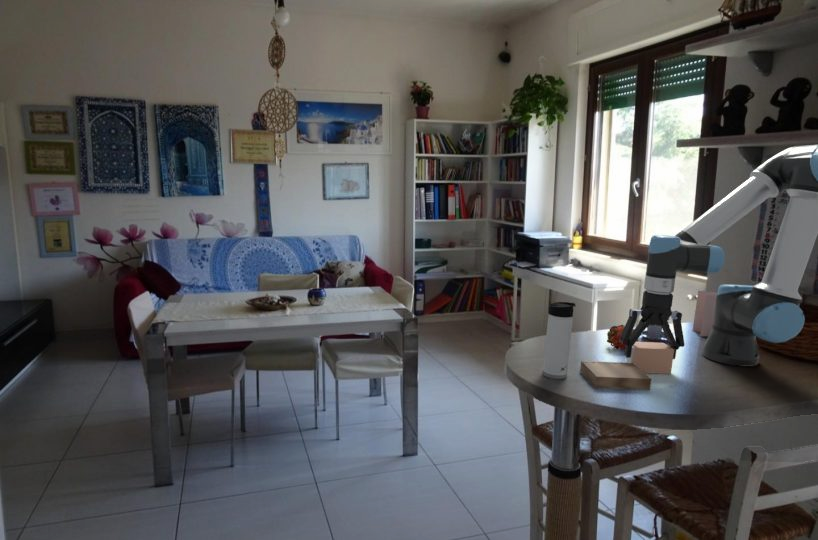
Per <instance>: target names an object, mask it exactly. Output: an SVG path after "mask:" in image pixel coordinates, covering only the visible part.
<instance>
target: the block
mask: <svg viewBox="0 0 818 540" xmlns="http://www.w3.org/2000/svg"><path fill="white" fill-rule="evenodd" d="M633 346H634V347H635V356H634V365H635V366H636V367H638V368H639V369H640V370H641V371H642V372H644V373H645V374H665V375H666V374H667V375H671V374H672V369H673V361H674V359H673V355H674V349H673V348H671V347H670V345H668V344H666V343H665V342H650V341H638V342H635V344H634V345H633Z"/></svg>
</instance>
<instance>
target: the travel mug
mask: <svg viewBox="0 0 818 540" xmlns="http://www.w3.org/2000/svg"><path fill="white" fill-rule="evenodd" d="M575 307H576V303H575V302H568V301H556V302H551V303H550V304H549V306H548V313H547V315H548V316H547V326H546V334H545V345H544V354H543V355H544V357H543V366H542V367H543V368H542V375H543V376H545V378H548V379H552V380H564V379H566V378H567V377H568V369H569V368H568V366H569V357H570V351H571V350H570V349H571V340H572V339H571V338H572V330H573V319H574V308H575Z"/></svg>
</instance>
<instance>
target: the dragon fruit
mask: <svg viewBox="0 0 818 540" xmlns="http://www.w3.org/2000/svg"><path fill="white" fill-rule="evenodd" d="M624 327H625V325H624V324H621V325H613V326H610V328H609V330H608V331H607V335H606V337H607V339H606V343H608V344H610V346H611V347H613V348H614V349H615V350H617V351H618V350H620V349H622V350H624V351H625V347H626V345H625V344H623V343H621V342H620V341H619V339H620V337H621V334H622V332H623V330H624ZM634 329H635V328H633V330H632V332H633V331H634ZM632 332H631V333H632ZM636 342H640V341H639V339H638V340H637V341H636Z"/></svg>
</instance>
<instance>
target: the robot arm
mask: <svg viewBox="0 0 818 540" xmlns="http://www.w3.org/2000/svg"><path fill="white" fill-rule="evenodd" d="M783 192H786V193H787V194H788V196H789V201H788V203H787V207H786V210H785V213H784V216H783V219H782V221H781V225H780V228H779V231H778V234H777V235H776V239H775V242H774V244H773V248H772V250H771V254H770V257H769V260H768V262H767V265H766V268H765V271H764V274H763V275H762V279H761V281H760V282H759V283H757V284H754V285H747V284H730V283H729V284H720V285H719V287H718V289H717V292H716V293H717V295H716V297H717V298H716V305H715V312H714V319H713V326H712V331H711V333H710V335H709V336H707V338H706V340H705V342H704V344H703V346H702V352H701V355H702V357H705V358H707V359H709V360H711V361H715V362H718V363H721V364H725V365H731V366H736V365H755V364H757V363H758V364H759V362H760V361H759V360H760V354H759V350H758V349H759V347H758V343H757V339H756V338H759V339H760V340H764V341H767V342H770V343H775V344H779V343H785V342H787V341H789V340H792V339H794V338H795V337H796V336H798V335H799V334H800V333H801V331H802V329H803V327H804V324H805V320H806V319H805V314H804V311H803V310H802V308H800V305H801V301H802V299H803V298H802V296H801V295H800V293H799V287H800V285H801V281H802V279H803V277H804V274H805V270H806V267H807V265H808V263H809V260H810V257H811V254H812V251H813V248H814V246H815V242H816V240H817V237H818V144H809V145H808V144H807V145H794V146H791V147H788V148H785V149H783V150H782V151H780V152H778V153H776V154H775V155H773V156H771V157H770V158H769V159H767V160H766V161H764V162H763V163H761V164H760V165H759V166H758V167H756V168H755V169H754V170H753V171H751V172H750V174H749V178H748V179H747V180H746V181H744V182H743V183H741V184H740V185H739V186H737V187H736V188H735V189H734V190H733V191H731V192H729V194H727V195H726V196H725V197H723V198H722V199H720V200H719V201H718V202H717V203H715V205H713V206H712V207H710V208H709V209H708V210H706V211H705V212H704V213H703V214H701V215H700V216H699V217H697V218H696V219H694V221H692V222H691V223H690V224H688V225H687V226H686V227H685V228H683V229H682V230H681V231H680V232H678V233H677V234H674V235H667V234H666V235H665V234H655V235H652V236H651V238H650V241H649V245H648V250H647V255H648V256H647V261H646V272H645V277H644V285H643V289H644V291H642V300H641V307H640V309H634V308H630V309H629V313H628V315H629V316H628V318H627V320H626V323H625V325H624V326H625V327H624V330H623V332H622V334H621V337H620V339H619V341H620V342H621V343H623V344H625V345H626V347H625V350H624V356H625V357H626V363H633V364H634V356H635V347H634V346H633V345H634V344H635V342H636V341H637V340H639V339H640V337H641V336H642V334H644V332H645V330H646V329H647V328H648V327H650V326H660V327H661V329H662V331H663V334H664V336H665V337H666V340H667V342H668V344H669V345H668V346H670V347H671V348H673V349H674V355H673V360H675V359H676V355H677V350H679V349H680V348H684V347H685V339H684V331H683V326H682V317H683V313H682V312H680V311H678V310H672V306H673V300H674V295H673V294H672V293H674V291H675V284H676V279H677V277H676V276H677V272H689V273H690V272H691V273H704V274H711V273H713V274H715V273H718V272H720V271H721V270H722V269H723V267H724V266H725V265H724V264H725V260H726V256H725V252H724V250H723V248H722V247H720V246H718V245H711V244H709V243H710V242H712V241H713V240H715V239H716V238H717V237H718V236H719V235H721V234H722V233H723V232H724V233H725V231H727V229H730V227H732V226H733V225H734V224H735V223H738V221H740V220H741V219H742V218H744V217H745V216H746V215H747V214H749V213H750V212H751V211H753V210H754V209H756V208H757V207H758V206H759V205H761V204H762V203H764V202H765V201H766V200H768V199H769V198H776V197H777V196H779V195H780V194H782V193H783ZM640 316H641V318H640V319H639V321H638V324H637V325H636V323H637V320H638V318H639V317H640ZM669 318H671V320H672V326H673V327H672V328H673V332H672V330H671V328H670V327H671V326H670V324H669V322H668V320H669ZM635 326H636V327H635ZM634 327H635V328H634ZM633 329H634V331H633V332H632V330H633ZM631 332H632V333H631ZM673 333H674V334H673Z"/></svg>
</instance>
